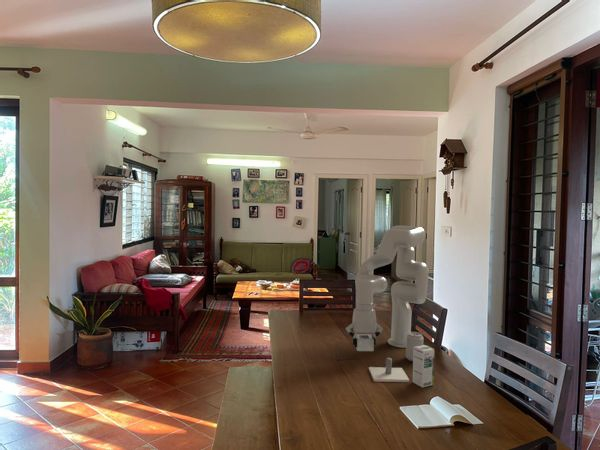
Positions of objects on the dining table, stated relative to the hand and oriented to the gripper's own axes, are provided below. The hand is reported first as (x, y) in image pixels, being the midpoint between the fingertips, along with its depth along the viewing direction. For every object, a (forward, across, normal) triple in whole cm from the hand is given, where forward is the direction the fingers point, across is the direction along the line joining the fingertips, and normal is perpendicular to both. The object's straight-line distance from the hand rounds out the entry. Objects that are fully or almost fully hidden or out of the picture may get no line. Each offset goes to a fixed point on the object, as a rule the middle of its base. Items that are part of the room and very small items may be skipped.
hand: (364, 346), depth 182 cm
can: (+9, -24, -7) cm, 27 cm away
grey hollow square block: (+1, 0, 0) cm, 1 cm away
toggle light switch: (+8, -8, +12) cm, 17 cm away
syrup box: (+8, -20, +19) cm, 29 cm away
